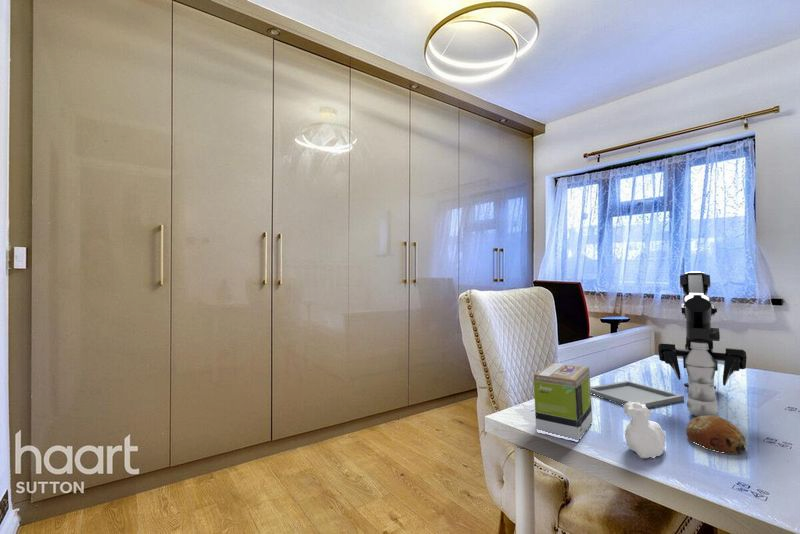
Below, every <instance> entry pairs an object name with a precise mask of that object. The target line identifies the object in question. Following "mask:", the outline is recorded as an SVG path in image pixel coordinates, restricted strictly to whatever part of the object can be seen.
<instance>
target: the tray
mask: <svg viewBox="0 0 800 534" xmlns="http://www.w3.org/2000/svg"><path fill="white" fill-rule="evenodd" d="M590 388H591V393H592V394H595V395H598V396H600V397H603V398H605V399H608V400H611V401H613V402H612V403H614V402H616V403H615V404H617V403H619V404H618V405H620V404H623V405H624V404H626V403H627V402H635V403H636V402H639V403H640V404H641V405H642V404H646V407H647V408H649V409H653V408H657V407H663V406H667V405H672V404H676V403H677V404H678V403H682V402H684V401H685V396H684V395H682V394H679V393H674V392H671V391H667V390H664V389H660V388H658V387H652V386H649V385H646V384H641V383H638V382H634V381H630V380H624V381H623V380H622V381H617V382H612V383H606V384H600V385H593V386H590ZM605 399H604V400H605ZM608 400H607V401H608ZM611 401H610V402H611ZM623 405H622V406H623ZM652 407H653V408H652Z"/></svg>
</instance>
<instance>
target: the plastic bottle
mask: <svg viewBox="0 0 800 534" xmlns="http://www.w3.org/2000/svg"><path fill="white" fill-rule="evenodd" d="M690 348H691V349H692V351H691V352H690V353H689V354H688V355H687V356H686V358H685V364H686V368H685V369H686V373H687V374H686V375H687V379H688V380H689V381H687V383H689V386H688V393H687V394H688V395H687V400H686V407H687V411H688V413H690V415H692V416H694V417H700V416H706V415H707V416H708V415H713V416H718V417H719V411H720V410H719V405H718V401H717V398H716V390H715V388H714V386H715V374H716V371H715V367H716V363H715V360H714V359H713V357H712V356H711V355H710V354H709V353H708V351H707V350H709V348H708V342H702V341H691V346H690Z"/></svg>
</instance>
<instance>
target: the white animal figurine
mask: <svg viewBox="0 0 800 534" xmlns="http://www.w3.org/2000/svg"><path fill="white" fill-rule="evenodd" d="M622 406H623V405H622ZM622 408H623V412H624V413H625V415H626V416H627V417H628V419H630V418H631V420H630V422H629V424H627V425H626V428H625V430H624V432H625V433H624V438H625V442H626V446H627V447H628V448H629V449H630V450H631V451H633V452H635V453H636V454H637V456H638V457H639V458H641V459H650V458H649V457H655V456H658V457H659V456H661V455H663V453H664V448H665V446H666V434H665V432H664V431H663V429H662V427H661V426H660V424H659V423H658V422H656V421H654V420H653V421H652V420H649V419H650V417H651V416H652V412H651V410H650V408H649V409H648V408H647V407H646V404H642V405H641V404H640V403H639V402H636V403H635V402H627V403H626V404H624V406H623V407H622Z"/></svg>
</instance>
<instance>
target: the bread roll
mask: <svg viewBox="0 0 800 534" xmlns="http://www.w3.org/2000/svg"><path fill="white" fill-rule="evenodd" d="M685 433H686V436H687V439H688V440H689V441H690V442H691V441H692V442H695V443H697V444H699V445H701V446H704V447H705V448H708V449H711V450H710V451H712V450H715V451H719V452H718V453H720V452H724V453H723V454H726V453H735V454H734V455H737V454H736V453H738V454H742V453H743V452H744V451H745V450H746V447H748V445H747V442H746V437H745V436H744V434H743V433H742V432H741V430H740V429H739V428H738V427H737V426H736V425H735V424H734V423H732V422H731V421H730V420H728V419H725V418H723V417H721V416H719V415H718V416H713V415H708V416H707V415H706V416H700V417H697V416H695V417H694V418H692V419H691V420H690V421H689V422H688V424H687V425H686V429H685ZM692 442H691V443H692ZM701 446H700V447H701ZM745 446H746V447H745ZM705 448H704V449H705ZM708 449H707V450H708ZM715 451H714V452H715Z"/></svg>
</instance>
